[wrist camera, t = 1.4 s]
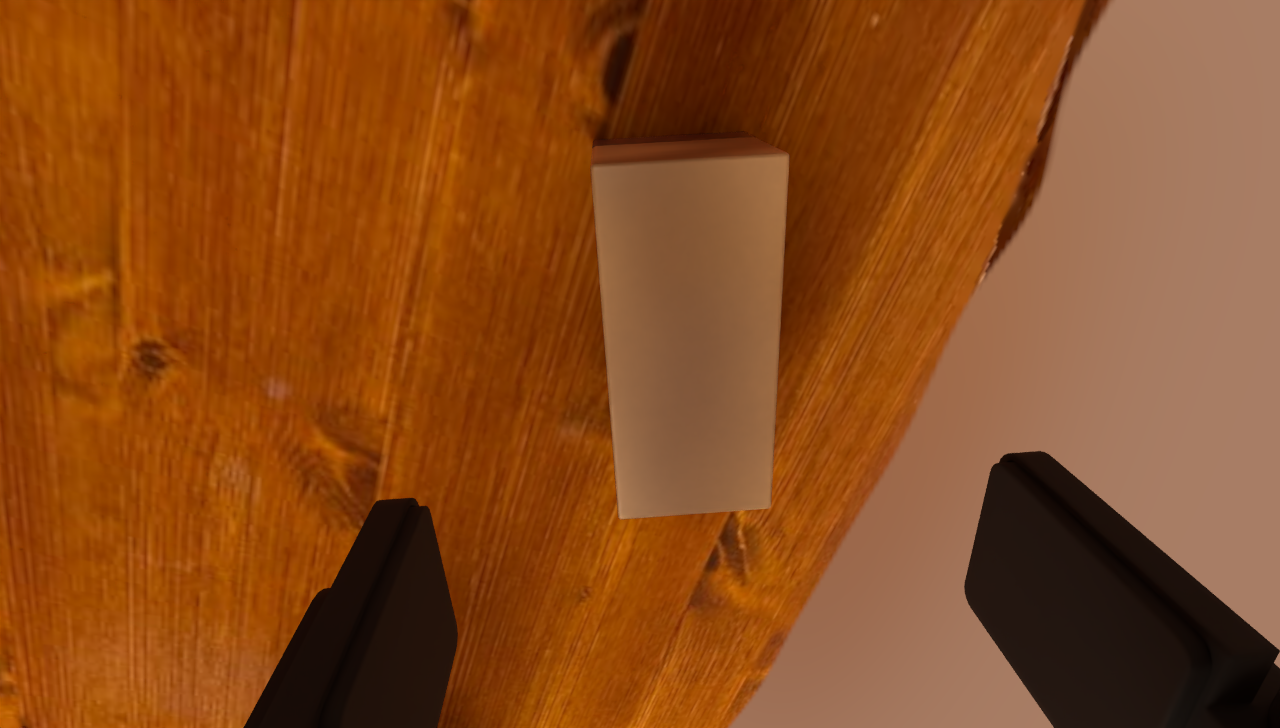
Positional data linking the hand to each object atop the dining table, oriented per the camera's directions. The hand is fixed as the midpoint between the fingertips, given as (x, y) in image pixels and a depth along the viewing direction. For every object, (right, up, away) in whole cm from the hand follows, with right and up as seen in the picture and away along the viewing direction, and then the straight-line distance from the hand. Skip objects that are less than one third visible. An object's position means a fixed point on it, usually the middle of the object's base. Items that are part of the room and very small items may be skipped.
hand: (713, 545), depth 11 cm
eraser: (0, +5, +10) cm, 11 cm away
